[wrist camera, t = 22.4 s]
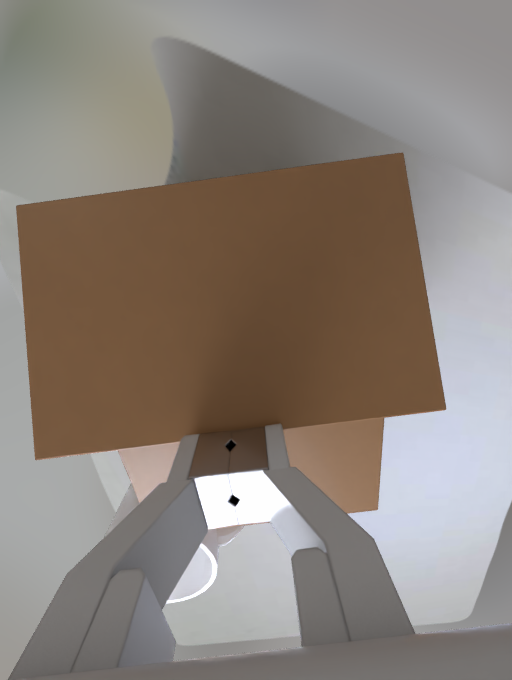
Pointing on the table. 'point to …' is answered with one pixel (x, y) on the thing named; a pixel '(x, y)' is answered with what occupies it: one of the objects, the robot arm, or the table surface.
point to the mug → (203, 561)
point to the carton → (295, 462)
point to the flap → (226, 307)
